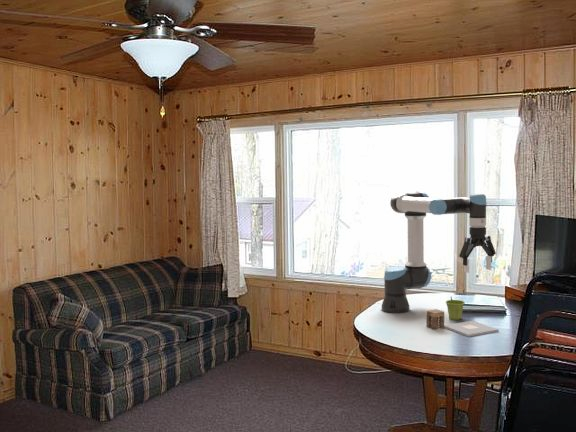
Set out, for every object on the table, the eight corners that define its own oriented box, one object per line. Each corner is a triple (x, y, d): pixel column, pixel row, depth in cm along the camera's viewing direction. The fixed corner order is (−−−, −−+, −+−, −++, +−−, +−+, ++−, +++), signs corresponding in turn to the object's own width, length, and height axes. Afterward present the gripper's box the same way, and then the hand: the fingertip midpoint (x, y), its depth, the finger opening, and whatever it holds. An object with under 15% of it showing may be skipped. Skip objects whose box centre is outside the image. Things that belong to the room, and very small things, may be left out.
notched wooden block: (426, 326, 281) (426, 310, 280) (436, 324, 283) (436, 309, 282) (434, 329, 275) (434, 313, 274) (444, 327, 277) (444, 311, 277)
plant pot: (465, 321, 288) (465, 304, 288) (446, 320, 290) (446, 303, 290) (463, 316, 298) (463, 300, 297) (445, 315, 299) (445, 299, 299)
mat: (442, 327, 278) (442, 325, 278) (471, 322, 286) (471, 320, 286) (468, 336, 262) (468, 334, 262) (498, 331, 269) (498, 329, 269)
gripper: (462, 228, 263) (462, 274, 265) (503, 225, 273) (503, 269, 275) (451, 227, 270) (451, 272, 272) (492, 224, 280) (492, 267, 282)
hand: (477, 270), depth 273 cm, fingers open, 13 cm apart
